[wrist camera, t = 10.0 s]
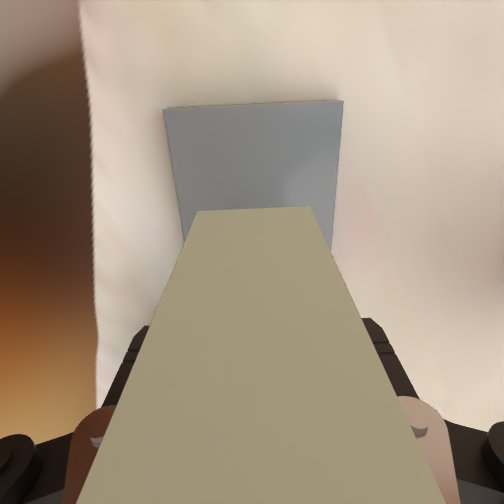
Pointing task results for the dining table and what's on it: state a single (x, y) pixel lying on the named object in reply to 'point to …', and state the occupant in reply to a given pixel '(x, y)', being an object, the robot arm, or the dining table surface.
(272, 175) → the blue-grey square panel
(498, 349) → the dining table surface
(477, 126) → the dining table surface
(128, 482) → the tea tin
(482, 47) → the dining table surface
